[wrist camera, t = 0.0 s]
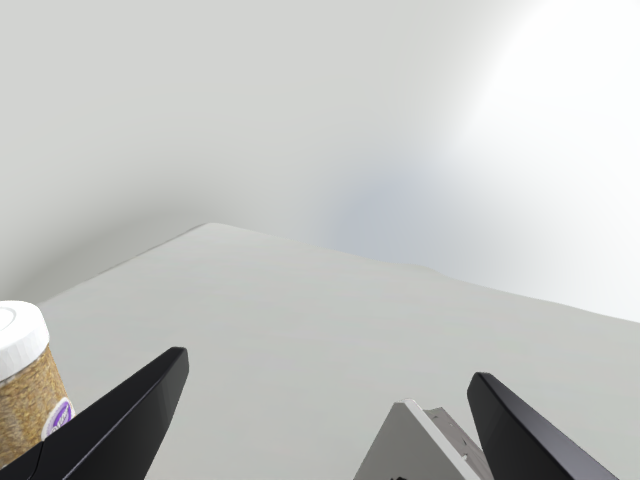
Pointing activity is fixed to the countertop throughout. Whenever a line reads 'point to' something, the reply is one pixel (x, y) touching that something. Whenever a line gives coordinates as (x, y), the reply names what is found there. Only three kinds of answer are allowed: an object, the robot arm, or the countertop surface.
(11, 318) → the sprinkles bottle
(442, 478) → the electrical switch
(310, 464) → the countertop surface
